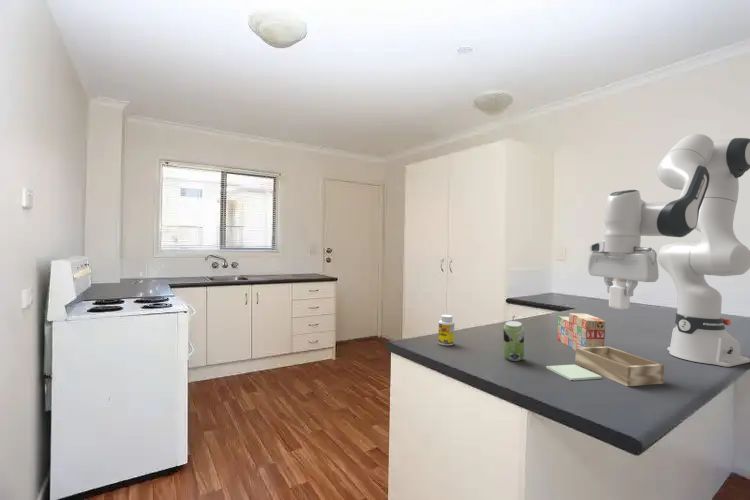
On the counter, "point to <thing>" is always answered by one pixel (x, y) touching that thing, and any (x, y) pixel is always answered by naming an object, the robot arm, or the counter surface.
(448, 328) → the supplement bottle
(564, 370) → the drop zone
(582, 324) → the stack of blocks
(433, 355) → the counter surface
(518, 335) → the beverage can
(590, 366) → the open wooden box
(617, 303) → the salt shaker
